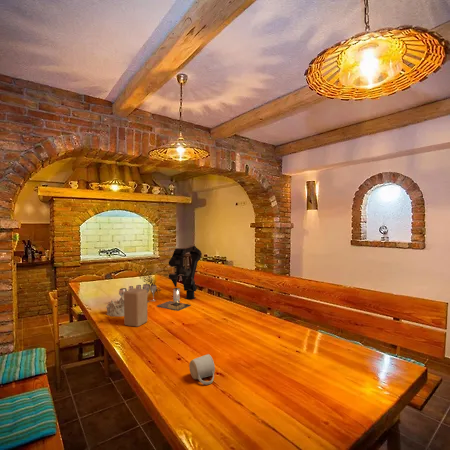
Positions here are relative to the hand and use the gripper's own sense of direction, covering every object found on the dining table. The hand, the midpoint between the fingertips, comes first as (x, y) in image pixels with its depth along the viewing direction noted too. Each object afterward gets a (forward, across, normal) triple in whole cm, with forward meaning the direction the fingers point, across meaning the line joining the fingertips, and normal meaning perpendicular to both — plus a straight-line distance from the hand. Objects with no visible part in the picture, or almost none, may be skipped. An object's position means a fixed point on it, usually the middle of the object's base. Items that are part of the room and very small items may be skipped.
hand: (179, 285), depth 216 cm
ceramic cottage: (+13, -37, +19) cm, 44 cm away
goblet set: (+13, -15, +28) cm, 34 cm away
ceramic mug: (+13, -75, -76) cm, 108 cm away
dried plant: (+13, +8, +47) cm, 49 cm away
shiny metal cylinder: (+12, -11, -6) cm, 17 cm away
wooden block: (+13, -47, -6) cm, 49 cm away
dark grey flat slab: (+13, -8, -1) cm, 15 cm away
